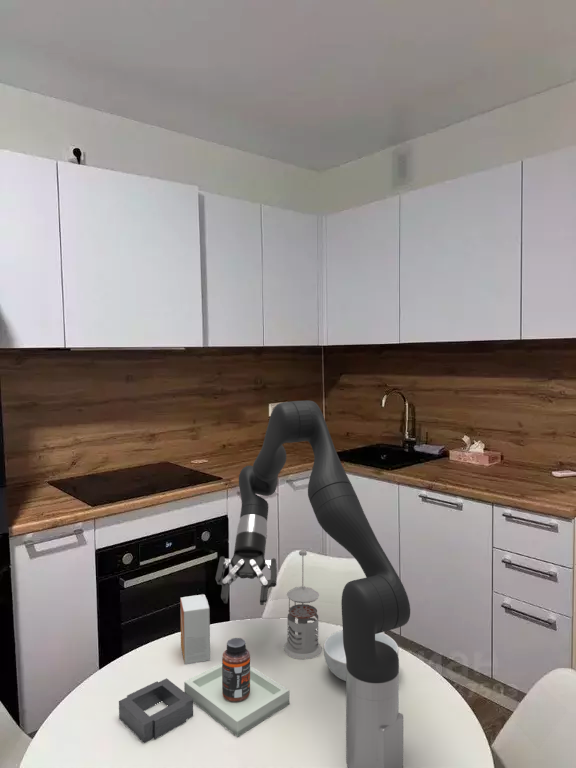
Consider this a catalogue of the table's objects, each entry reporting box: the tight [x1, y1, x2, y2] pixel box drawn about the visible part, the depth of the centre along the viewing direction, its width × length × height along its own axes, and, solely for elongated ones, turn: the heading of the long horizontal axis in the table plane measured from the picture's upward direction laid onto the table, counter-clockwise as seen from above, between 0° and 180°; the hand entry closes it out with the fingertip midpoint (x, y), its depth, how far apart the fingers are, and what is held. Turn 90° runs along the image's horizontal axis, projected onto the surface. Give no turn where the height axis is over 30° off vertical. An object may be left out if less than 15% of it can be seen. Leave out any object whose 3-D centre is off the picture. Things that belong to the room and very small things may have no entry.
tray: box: [183, 662, 290, 738], centre depth 112 cm, size 18×14×3 cm
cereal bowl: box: [323, 629, 399, 682], centre depth 121 cm, size 17×17×7 cm
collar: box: [118, 678, 194, 744], centre depth 107 cm, size 11×11×4 cm
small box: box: [179, 594, 211, 665], centre depth 130 cm, size 8×6×13 cm
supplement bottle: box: [221, 637, 251, 702], centre depth 112 cm, size 6×6×11 cm
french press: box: [282, 549, 323, 660], centre depth 133 cm, size 10×12×25 cm
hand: (243, 603), depth 121 cm, fingers open, 8 cm apart
